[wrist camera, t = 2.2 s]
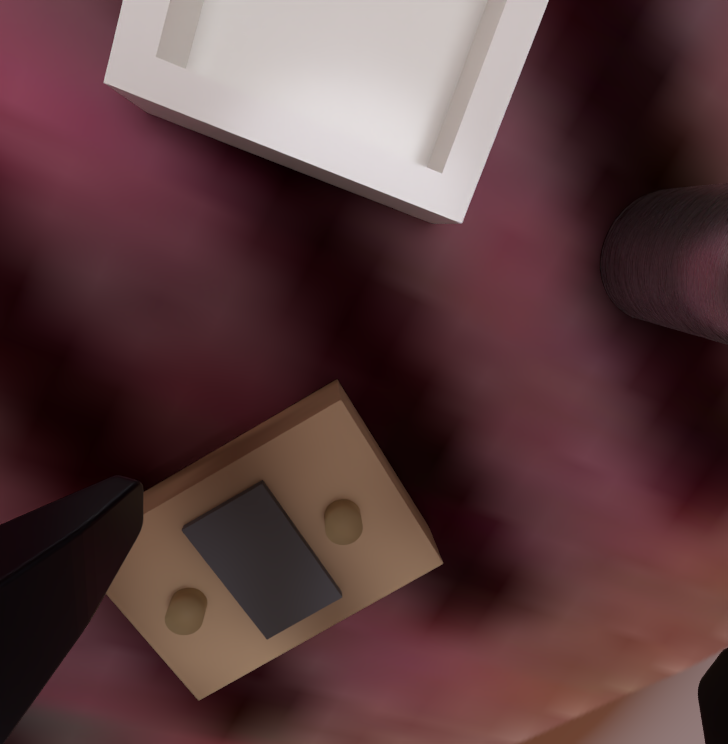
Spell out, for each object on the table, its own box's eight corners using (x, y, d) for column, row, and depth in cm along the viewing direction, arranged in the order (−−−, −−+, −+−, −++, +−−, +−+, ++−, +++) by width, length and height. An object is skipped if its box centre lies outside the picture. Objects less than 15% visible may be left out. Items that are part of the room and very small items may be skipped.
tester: (210, 650, 22) (194, 719, 19) (100, 517, 20) (62, 570, 17) (428, 527, 21) (449, 577, 18) (336, 379, 20) (342, 407, 16)
